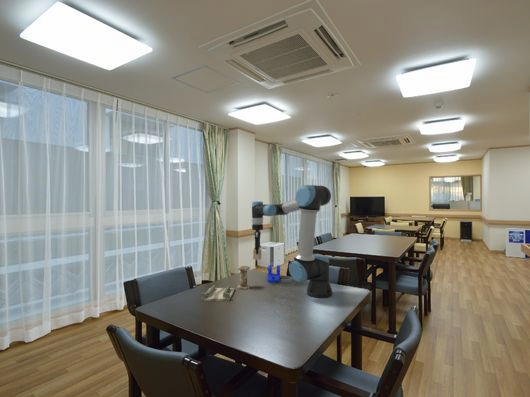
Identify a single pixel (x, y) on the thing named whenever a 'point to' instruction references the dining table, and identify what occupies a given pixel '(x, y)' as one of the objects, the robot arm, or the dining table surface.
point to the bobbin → (243, 277)
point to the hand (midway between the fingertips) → (257, 257)
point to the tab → (259, 254)
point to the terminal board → (218, 294)
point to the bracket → (273, 275)
